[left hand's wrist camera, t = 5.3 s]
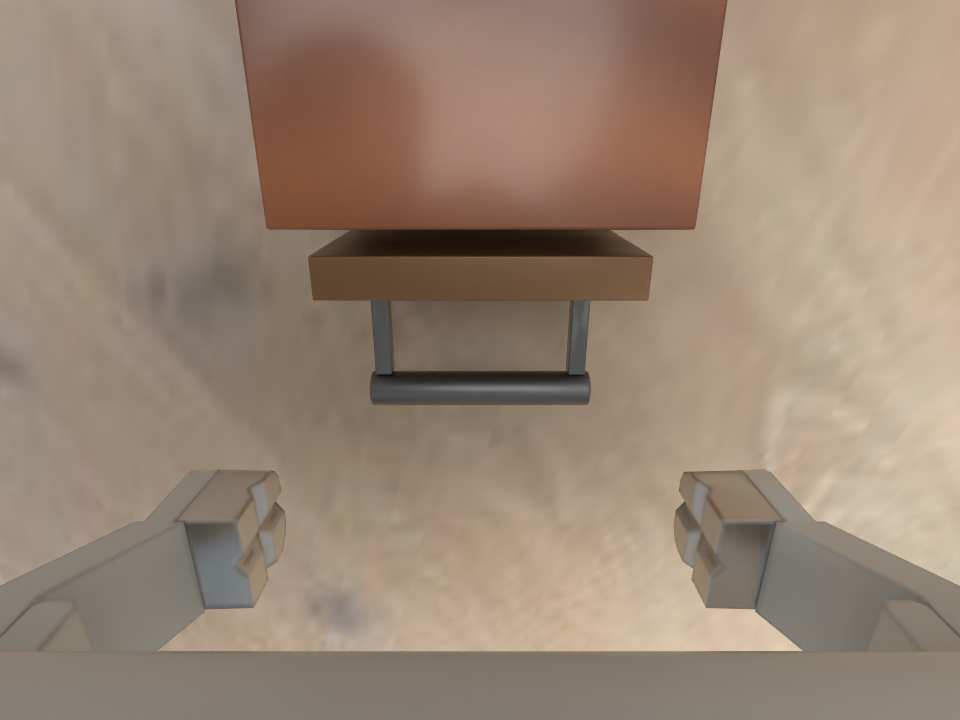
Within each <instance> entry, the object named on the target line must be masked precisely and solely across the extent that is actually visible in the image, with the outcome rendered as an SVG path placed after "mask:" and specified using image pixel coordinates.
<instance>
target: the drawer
mask: <svg viewBox="0 0 960 720" xmlns="http://www.w3.org/2000/svg"><path fill="white" fill-rule="evenodd" d="M308 259H309V268H310V277H311V286H312V295H313V300H371V311H372V324H373V338H374V351H375V365H376V371H374V372H373V373H372V375H371V381H370V397H371V401H372V404H374V405H587V404H588V403H589V400H590V393H591V385H590V377H589V374H588V372H587V371H585V361H586V348H587V335H588V322H589V309H590V300H627V301H646V300H648V298H649V289H650V281H651V272H652V263H653V256H651V255H650V254H648V253H646V252H645V251H643V250H641V249H640V248H638V247H637V246H635V245H633V244H632V243H630V242H628V241H627V240H625V239H623V238H622V237H620V236H619V235H617V234H615V233H614V232H612V231H610V230H350V231H349V232H347V233H345V234H344V235H342V236H341V237H339V238H337V239H336V240H334V241H332V242H331V243H329V244H328V245H326V246H324V247H323V248H321V249H320V250H318V251H316V252H315V253H313V254H312V255H310V256H309V257H308ZM391 300H570V311H569V327H568V343H567V359H566V370H567V371H394V368H395V366H394V350H393V333H392V317H391Z"/></svg>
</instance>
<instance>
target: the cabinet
mask: <svg viewBox="0 0 960 720" xmlns="http://www.w3.org/2000/svg"><path fill="white" fill-rule="evenodd" d="M235 4H236V11H237V18H238V26H239V33H240V40H241V47H242V55H243V62H244V69H245V76H246V84H247V91H248V98H249V105H250V113H251V120H252V127H253V134H254V142H255V149H256V156H257V163H258V170H259V178H260V185H261V192H262V199H263V207H264V214H265V221H266V227H267V229H270V230H692V229H695V226H696V219H697V212H698V205H699V198H700V191H701V184H702V176H703V169H704V162H705V155H706V148H707V141H708V134H709V127H710V119H711V112H712V105H713V98H714V91H715V84H716V77H717V70H718V62H719V55H720V48H721V41H722V34H723V27H724V20H725V13H726V6H727V0H235Z"/></svg>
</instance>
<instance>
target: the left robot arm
mask: <svg viewBox="0 0 960 720" xmlns="http://www.w3.org/2000/svg"><path fill="white" fill-rule="evenodd" d="M280 492H281V487H280V482H279V477H278V475H277V474H276V473H275V472H274V471H249V470H195V471H190V472H189V473H188V474H187V475H186V476H185V478H184V479H183V480H182V481H181V482H180V483H179V484H178V485H177V486H176V487H175V488H174V490H173V491H172V492H171V493H170V494H169V495H168V496H167V497H166V498H165V499H164V500H163V502H162V503H161V504H160V505H159V506H158V507H157V508H156V509H155V510H154V511H153V512H152V514H151V515H150V516H149V517H148V518H147V519H146V520H145V521H144V522H134V523H132V524H130V525H127V526H125V527H123V528H121V529H119V530H117V531H115V532H113V533H111V534H108V535H106V536H104V537H102V538H100V539H98V540H96V541H94V542H92V543H90V544H87V545H85V546H83V547H81V548H79V549H77V550H75V551H73V552H71V553H68V554H66V555H64V556H62V557H60V558H58V559H56V560H54V561H52V562H49V563H47V564H45V565H43V566H41V567H39V568H37V569H35V570H33V571H31V572H28V573H26V574H24V575H22V576H20V577H18V578H16V579H14V580H12V581H9V582H7V583H5V584H3V585H1V586H0V720H960V586H958V585H956V584H954V583H952V582H950V581H948V580H946V579H944V578H942V577H940V576H937V575H935V574H933V573H931V572H929V571H927V570H925V569H923V568H921V567H919V566H916V565H914V564H912V563H910V562H908V561H906V560H904V559H902V558H900V557H898V556H895V555H893V554H891V553H889V552H887V551H885V550H883V549H881V548H879V547H877V546H874V545H872V544H870V543H868V542H866V541H864V540H862V539H860V538H858V537H856V536H853V535H851V534H849V533H847V532H845V531H843V530H841V529H839V528H837V527H835V526H833V525H830V524H828V523H826V522H816V521H815V520H814V519H813V518H812V517H811V516H810V515H809V514H808V513H807V511H806V510H805V509H804V508H803V507H802V506H801V505H800V504H799V503H798V502H797V500H796V499H795V498H794V497H793V496H792V495H791V494H790V493H789V492H788V491H787V490H786V488H785V487H784V486H783V485H782V484H781V483H780V482H779V481H778V480H777V479H776V478H775V476H774V475H773V474H772V473H771V472H769V471H767V470H764V469H761V470H737V471H701V472H684V473H683V475H682V478H681V480H680V486H679V492H680V494H681V496H682V497H683V499H684V501H685V502H684V503H683V504H682V505H681V506H680V507H679V508H678V509H677V510H676V512H675V520H674V534H675V542H676V546H677V549H678V552H679V554H680V556H681V558H682V561H683V562H685V563H686V564H687V565H689V566H690V567H692V568H693V575H692V581H693V583H694V585H695V587H696V589H697V591H698V593H699V595H700V597H701V599H702V601H703V603H704V605H705V607H706V608H730V609H756V611H755V612H757V613H758V614H759V615H760V616H761V617H763V618H764V619H765V620H766V621H768V622H769V623H770V624H771V625H772V626H774V627H775V628H776V629H777V630H778V631H780V632H781V633H782V634H783V635H785V636H786V637H787V638H788V639H789V640H791V641H792V642H793V643H794V644H795V645H797V646H798V647H799V648H800V649H802V650H803V651H157V650H159V649H160V648H161V647H162V646H163V645H165V644H166V643H167V642H168V641H170V640H171V639H172V638H173V637H174V636H176V635H177V634H178V633H179V632H180V631H182V630H183V629H184V628H185V627H187V626H188V625H189V624H190V623H191V622H193V621H194V620H195V619H196V618H198V617H199V616H200V615H201V614H202V613H204V609H230V608H254V607H255V605H256V603H257V601H258V599H259V597H260V595H261V593H262V591H263V589H264V587H265V585H266V583H267V581H268V575H267V568H268V567H270V566H271V565H273V564H274V563H275V562H277V560H278V558H279V556H280V554H281V552H282V550H283V545H284V540H285V536H286V519H285V512H284V510H283V509H282V508H281V507H280V506H279V505H278V504H277V503H276V502H275V501H276V499H277V497H278V496H279V494H280Z"/></svg>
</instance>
